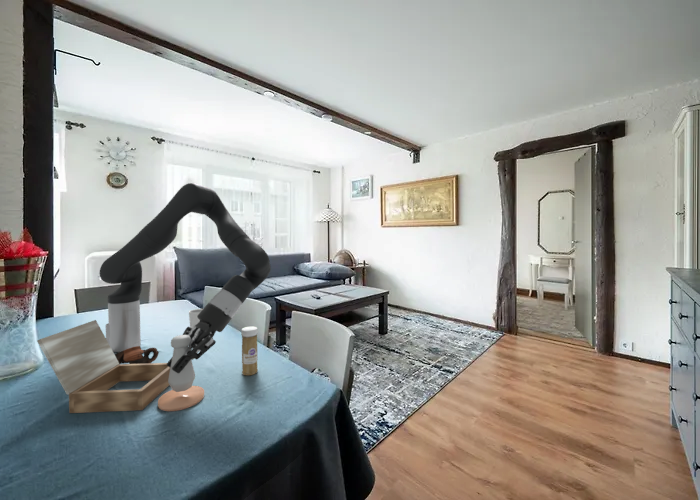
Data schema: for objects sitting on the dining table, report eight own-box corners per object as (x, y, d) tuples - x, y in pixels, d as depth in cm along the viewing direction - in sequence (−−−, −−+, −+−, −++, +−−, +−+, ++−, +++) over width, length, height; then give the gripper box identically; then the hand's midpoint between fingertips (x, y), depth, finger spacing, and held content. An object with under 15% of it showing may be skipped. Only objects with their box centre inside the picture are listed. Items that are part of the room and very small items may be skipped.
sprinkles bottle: (248, 377, 85) (247, 331, 85) (238, 373, 88) (238, 328, 88) (261, 371, 89) (260, 327, 89) (251, 367, 92) (251, 324, 91)
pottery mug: (113, 383, 83) (104, 356, 84) (119, 385, 90) (111, 360, 92) (162, 362, 90) (153, 337, 91) (164, 365, 97) (156, 342, 99)
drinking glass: (210, 333, 125) (210, 310, 125) (195, 338, 119) (194, 313, 119) (201, 330, 129) (201, 308, 128) (186, 335, 123) (185, 311, 123)
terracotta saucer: (148, 412, 68) (148, 407, 68) (171, 390, 78) (171, 386, 78) (193, 410, 69) (193, 406, 69) (210, 388, 79) (210, 385, 79)
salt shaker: (176, 396, 70) (174, 342, 69) (163, 389, 73) (162, 337, 72) (200, 385, 75) (198, 335, 74) (187, 380, 78) (186, 331, 77)
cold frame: (39, 414, 67) (36, 339, 67) (95, 380, 83) (92, 319, 83) (142, 410, 69) (140, 336, 68) (177, 377, 85) (175, 318, 84)
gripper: (199, 298, 83) (150, 354, 74) (223, 306, 74) (170, 370, 65) (218, 313, 87) (174, 368, 79) (243, 322, 78) (196, 385, 69)
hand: (172, 369), depth 72 cm, fingers closed on salt shaker, 3 cm apart
